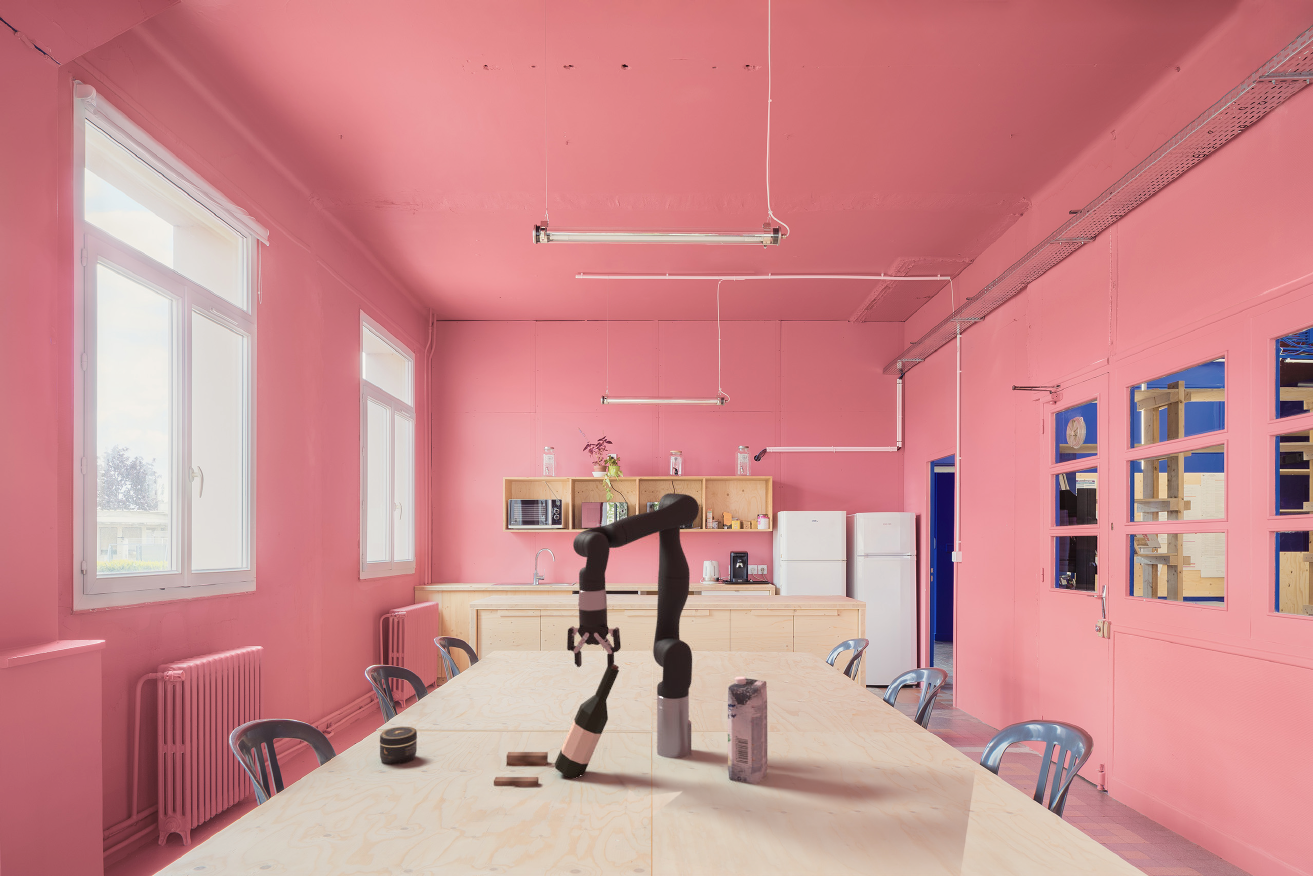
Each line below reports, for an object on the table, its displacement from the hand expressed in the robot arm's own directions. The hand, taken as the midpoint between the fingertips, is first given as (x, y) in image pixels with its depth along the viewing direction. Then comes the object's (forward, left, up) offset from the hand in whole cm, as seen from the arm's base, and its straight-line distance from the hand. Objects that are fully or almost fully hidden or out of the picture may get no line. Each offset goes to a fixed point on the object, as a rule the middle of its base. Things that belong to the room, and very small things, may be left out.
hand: (594, 666), depth 202 cm
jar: (+49, -30, -29) cm, 64 cm away
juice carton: (-37, +17, -29) cm, 50 cm away
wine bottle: (+7, -2, -28) cm, 28 cm away
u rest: (+18, -6, -29) cm, 35 cm away
